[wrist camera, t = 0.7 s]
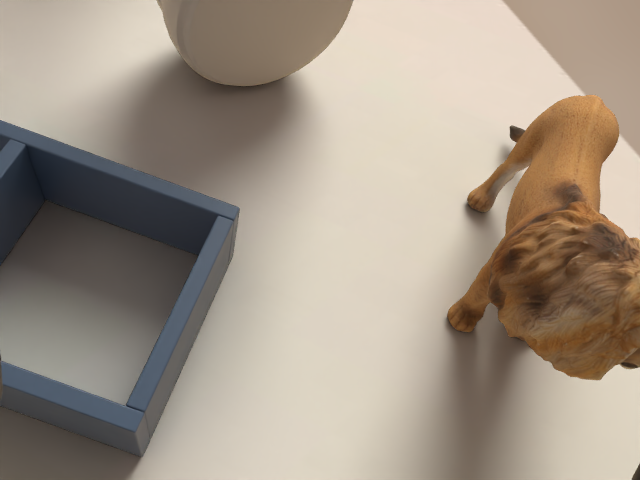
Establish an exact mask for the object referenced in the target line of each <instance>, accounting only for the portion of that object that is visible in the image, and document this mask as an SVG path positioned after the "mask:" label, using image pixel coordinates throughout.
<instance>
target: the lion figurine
mask: <svg viewBox="0 0 640 480" xmlns="http://www.w3.org/2000/svg"><path fill="white" fill-rule="evenodd" d="M618 137H619V125H618V122H617V120H616V117H615V115H614V114H613V113H612V111H610V110H609V109H608V108H607V107H606V106H605V105H604V103H603V101H602V100H601V99H600V98H599V97H598V96H595V95H586V96H573V97H569V98H566V99H563V100H560V101H558V102H557V103H555V104H554V105H552V106H551V107H549V108H548V109H547V110H546V111H544V112H543V113H542V114H541V115H539V116H538V117H537V118H536V119H535V120H534V121H533V122H532V123H531V125H530V126H529V127H528V128H527V129H526V131H525V130H523V129H521V128H518V127H515V126H510V138H511V139H512V140H513V141H515V142H517V143H516V145H515V147H514V148H513V150H512V151H511V153H510V154H509V156H508V158H507V160H506V161H505V162H504V163H503V164H501V165H500V166H499V167H498V168H497V169H496V171H495V172H494V173H493V174H492V175H491V176H490V178H489V179H488V180H487V181H485V182H484V183H483V184H482V185H480V186H479V187H478V188H476V189H475V190H473V191H472V192H471V193H470V194H469V196H468V198H467V201H468V203H469V205H470V207H471V208H473V209H476V210H478V211H480V212H486V211H488V210H490V208H491V207H492V206H493V204H494V202H495V199H496V197H497V195H498V193H499V192H500V190H501V189H502V188H503V186H504V185H505V184H506V183H507V182H508V181H510V180H511V179H512V178H513V177H514V175H515V173H516V172H518V171H520V170H522V169H524V168H526V167H528V166H529V165H530V166H529V167H528V169H527V170H526V172H525V173H524V175H523V176H522V178H521V179H520V181H519V183H518V185H517V187H516V189H515V191H514V193H513V196H512V199H511V202H510V206H509V209H508V214H507V219H506V234H505V237H504V238H503V239H502V240H501V242H500V243H499V245H498V246H497V248H496V249H495V250H494V252H493V254H492V256H491V258H490V259H489V261H488V262H487V263H486V265H485V266H484V267H483V268H482V269H481V270H480V272H479V274H478V276H477V277H476V279H475V281H474V282H473V283H472V285H471V286H470V288H469V290H468V292H467V293H466V294H465V295H464V296H463V297H462V298H461V299H460V300H459V301H458V302H456V303H455V304H454V305H453V306H452V307H451V308H450V309H449V311H448V315H447V317H448V319H449V321H450V323H451V325H452V326H453V327H454V328H455V329H456V330H458V331H464V332H471V331H472V330H473V329H474V327H475V325H476V323H477V321H479V320H480V319H481V318H482V317H483V315H484V312H485V308H486V306H487V304H489V303H490V302H491V303H492V304H494V305H495V306H496V307H497V308H498V319H499V321H500V322H502V323H503V324H504V325H505V328H506V330H507V334H508V336H510V337H517V338H519V339H521V340H522V341H526V342H527V344H528V345H529V347H530V348H531V349H533V350H534V352H535V353H536V354H537V355H539V356H541V357H542V358H543V360H545V361H549V362H551V363H552V365H553V367H554V369H556V370H558V371H561V372H564V373H566V374H567V375H568V376H570V377H578V378H580V379H587V380H601V379H602V377H603V376H604V375H605V374H606V373H607V372H608V371H609V370H610V369H612V368H613V367H614V366H615V365H618V364H620V365H621V366H622V367H623V368H626V369H634V368H638V367H640V240H639V239H638V238H629V237H628V236H627V235H626V234H625V233H624V231H623V230H622V229H621V228H620V227H618V226H617V225H615V224H614V223H612V222H611V221H609V220H608V218H607V217H606V216H605V215H603V214H600V213H599V210H600V172H601V167H602V163H603V162H604V161H605V160H606V159H607V157H608V156H609V155H610V153H611V152H612V151H613V149H614V147H615V145H616V143H617V141H618Z"/></svg>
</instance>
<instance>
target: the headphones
mask: <svg viewBox="0 0 640 480" xmlns="http://www.w3.org/2000/svg"><path fill="white" fill-rule="evenodd" d="M157 2H158V5H159V6H160V8H161V10H162V12H163V17H164V21H165V24H166V27H167V30H168V33H169V36H170V38H171V40H172V42H173V44H174V45H175V47H176V49H177V50H178V52H179V54H180V55H181V56H182V58H183V59H184V60H185V62H186V63H187V64H188V65H189V66H190V67H191V68H192V69H193V70H194V71H195V72H197V73H198V74H199V75H201V76H202V77H204V78H206V79H208V80H210V81H213V82H216V83H220V84H224V85H234V86H254V85H260V84H266V83H269V82H273V81H276V80H279V79H281V78H284V77H286V76H288V75H290V74H292V73H294V72H296V71H298V70H299V69H301V68H302V67H304V66H305V65H307V64H308V63H310V62H311V61H312V60H313V59H315V58H316V57H317V56H318V55H319V54H320V53H321V52H323V51H324V50H325V49H326V48H327V47H328V45H329V44H330V43H331V42H332V41H333V39H334V38H335V37H336V35H337V34H338V32H339V31H340V29H341V28H342V26H343V24H344V22H345V20H346V18H347V16H348V13H349V11H350V8H351V6H352V3H353V0H157Z"/></svg>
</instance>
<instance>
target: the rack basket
mask: <svg viewBox="0 0 640 480" xmlns="http://www.w3.org/2000/svg"><path fill="white" fill-rule="evenodd" d="M45 200H48V201H51V202H53V203H56V204H59V205H61V206H64V207H67V208H70V209H72V210H75V211H78V212H81V213H83V214H86V215H89V216H92V217H94V218H97V219H100V220H103V221H105V222H108V223H111V224H113V225H116V226H119V227H122V228H124V229H127V230H130V231H133V232H135V233H138V234H141V235H144V236H146V237H149V238H152V239H155V240H157V241H160V242H163V243H165V244H168V245H171V246H174V247H176V248H179V249H182V250H185V251H187V252H190V253H193V254H196V255H198V257H197V259H196V261H195V264H194V266H193V268H192V270H191V272H190V274H189V276H188V278H187V280H186V282H185V284H184V286H183V288H182V290H181V292H180V294H179V296H178V299H177V301H176V303H175V305H174V307H173V309H172V311H171V313H170V315H169V317H168V319H167V321H166V323H165V325H164V327H163V329H162V331H161V333H160V336H159V338H158V340H157V342H156V344H155V346H154V348H153V350H152V352H151V354H150V356H149V358H148V360H147V362H146V364H145V366H144V368H143V371H142V373H141V375H140V377H139V379H138V381H137V383H136V385H135V387H134V389H133V391H132V393H131V395H130V397H129V399H128V401H127V403H126V406H124V405H121V404H118V403H116V402H113V401H110V400H107V399H105V398H102V397H99V396H96V395H94V394H91V393H88V392H85V391H83V390H80V389H77V388H74V387H72V386H69V385H66V384H63V383H61V382H58V381H55V380H52V379H50V378H47V377H44V376H41V375H39V374H36V373H33V372H30V371H28V370H25V369H22V368H19V367H17V366H14V365H11V364H8V363H6V362H3V361H1V370H2V383H3V391H2V397H1V401H0V406H2V407H5V408H7V409H10V410H13V411H16V412H18V413H21V414H24V415H27V416H29V417H32V418H35V419H38V420H41V421H43V422H46V423H49V424H52V425H54V426H57V427H60V428H63V429H65V430H68V431H71V432H74V433H76V434H79V435H82V436H85V437H87V438H90V439H93V440H96V441H98V442H101V443H104V444H107V445H109V446H112V447H115V448H118V449H120V450H123V451H126V452H129V453H132V454H134V455H137V456H140V457H143V455H144V453H145V451H146V449H147V446H148V444H149V442H150V438H151V437H152V435H153V433H154V430H155V428H156V426H157V424H158V422H159V419H160V417H161V415H162V413H163V410H164V408H165V406H166V404H167V401H168V399H169V397H170V395H171V393H172V390H173V388H174V386H175V384H176V381H177V379H178V377H179V375H180V373H181V370H182V368H183V366H184V364H185V361H186V359H187V357H188V355H189V352H190V350H191V348H192V346H193V344H194V341H195V339H196V337H197V335H198V332H199V330H200V328H201V326H202V323H203V321H204V319H205V317H206V315H207V312H208V310H209V308H210V306H211V303H212V301H213V299H214V297H215V294H216V292H217V290H218V288H219V286H220V283H221V281H222V279H223V277H224V274H225V272H226V270H227V267H228V265H229V263H230V261H231V259H232V257H233V252H234V245H235V238H236V231H237V224H238V217H239V210H240V208H239V207H237V206H234V205H231V204H228V203H226V202H223V201H220V200H217V199H215V198H212V197H209V196H206V195H204V194H201V193H198V192H196V191H193V190H190V189H187V188H185V187H182V186H179V185H176V184H174V183H171V182H168V181H166V180H163V179H160V178H157V177H155V176H152V175H149V174H146V173H144V172H141V171H138V170H135V169H133V168H130V167H127V166H125V165H122V164H119V163H116V162H114V161H111V160H108V159H105V158H103V157H100V156H97V155H94V154H92V153H89V152H86V151H84V150H81V149H78V148H75V147H73V146H70V145H67V144H64V143H62V142H59V141H56V140H54V139H51V138H48V137H45V136H43V135H40V134H37V133H34V132H32V131H29V130H26V129H23V128H21V127H18V126H15V125H13V124H10V123H7V122H4V121H2V120H0V265H1V264H2V262H3V261H4V259H5V258H6V256H7V255H8V253H9V252H10V251H11V249H12V248H13V246H14V245H15V243H16V242H17V240H18V239H19V238H20V236H21V235H22V233H23V232H24V230H25V229H26V227H27V226H28V225H29V223H30V222H31V220H32V219H33V217H34V216H35V214H36V213H37V212H38V210H39V209H40V207H41V206H42V204H43V203H44V201H45Z"/></svg>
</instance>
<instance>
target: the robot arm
mask: <svg viewBox="0 0 640 480" xmlns="http://www.w3.org/2000/svg"><path fill="white" fill-rule="evenodd" d="M2 391H3V383H2V370H1V356H0V401H1V397H2ZM632 480H640V464H639V466H638V468H637V470H636V471H635V473H634V475H633V478H632Z"/></svg>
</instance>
